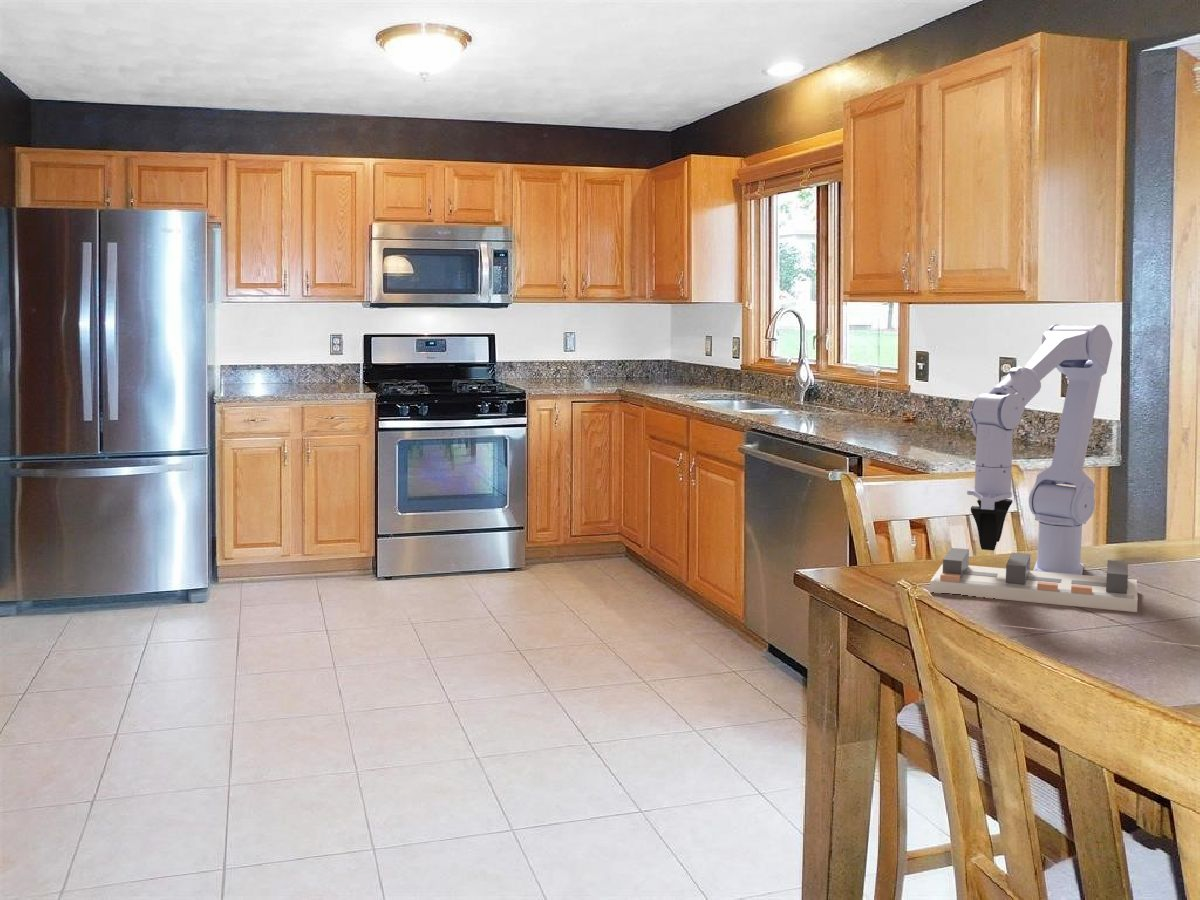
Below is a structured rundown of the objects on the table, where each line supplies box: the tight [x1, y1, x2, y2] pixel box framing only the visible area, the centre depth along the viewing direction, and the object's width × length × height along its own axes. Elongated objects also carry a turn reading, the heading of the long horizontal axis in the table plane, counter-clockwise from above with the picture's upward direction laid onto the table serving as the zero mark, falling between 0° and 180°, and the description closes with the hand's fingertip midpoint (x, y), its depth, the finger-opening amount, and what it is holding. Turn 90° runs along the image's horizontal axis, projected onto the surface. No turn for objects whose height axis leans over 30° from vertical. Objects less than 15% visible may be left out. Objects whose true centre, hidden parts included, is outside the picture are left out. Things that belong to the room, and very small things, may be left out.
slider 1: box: [942, 547, 970, 579], centre depth 190 cm, size 10×3×3 cm, turn 155°
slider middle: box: [1005, 552, 1031, 584], centre depth 186 cm, size 10×3×3 cm, turn 155°
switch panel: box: [929, 563, 1139, 613], centre depth 184 cm, size 14×31×3 cm, turn 65°
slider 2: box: [1106, 559, 1129, 593], centre depth 179 cm, size 10×3×3 cm, turn 155°
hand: (990, 545), depth 187 cm, fingers open, 7 cm apart
